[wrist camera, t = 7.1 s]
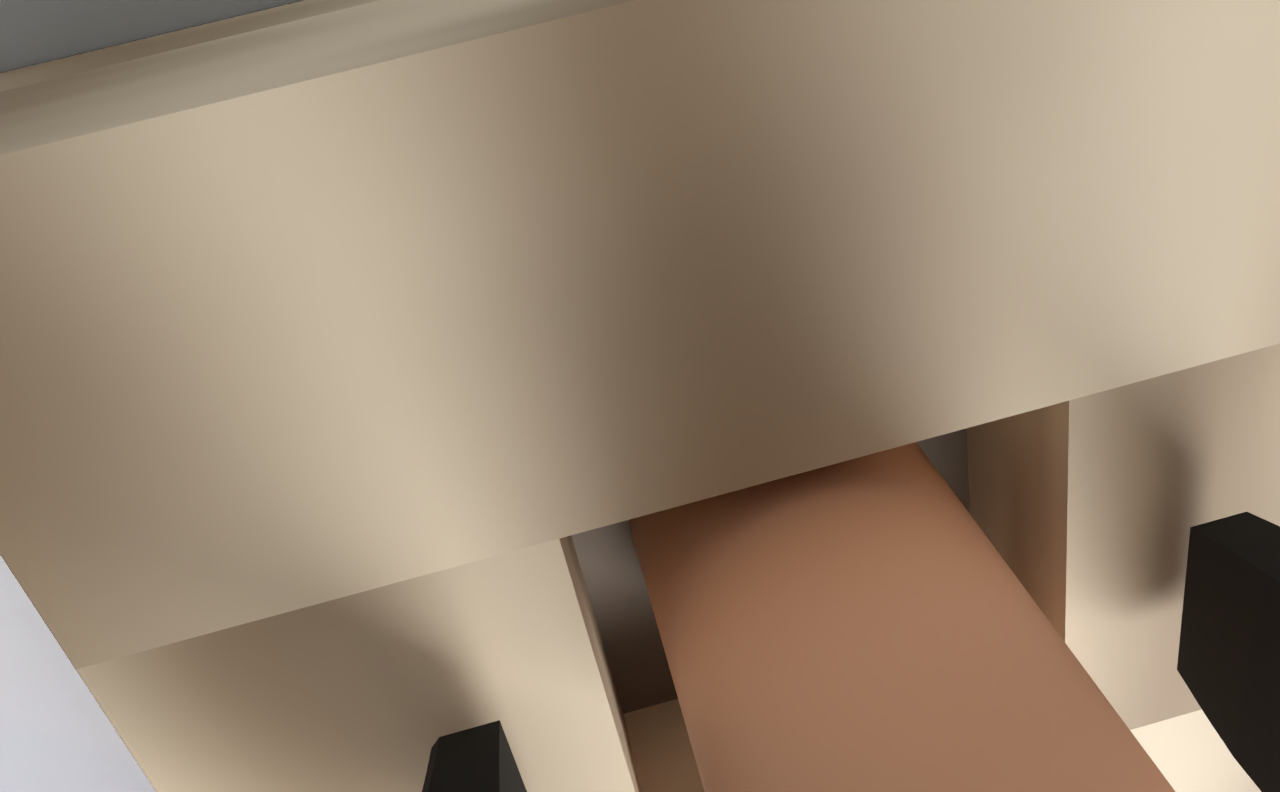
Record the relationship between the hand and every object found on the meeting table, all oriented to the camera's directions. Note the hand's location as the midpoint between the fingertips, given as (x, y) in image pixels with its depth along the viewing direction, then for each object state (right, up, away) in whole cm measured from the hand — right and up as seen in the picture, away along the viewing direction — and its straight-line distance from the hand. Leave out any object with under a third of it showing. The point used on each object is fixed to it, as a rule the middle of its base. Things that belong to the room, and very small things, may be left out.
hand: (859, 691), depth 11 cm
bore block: (-1, +2, +3) cm, 4 cm away
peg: (-1, +2, +2) cm, 3 cm away
